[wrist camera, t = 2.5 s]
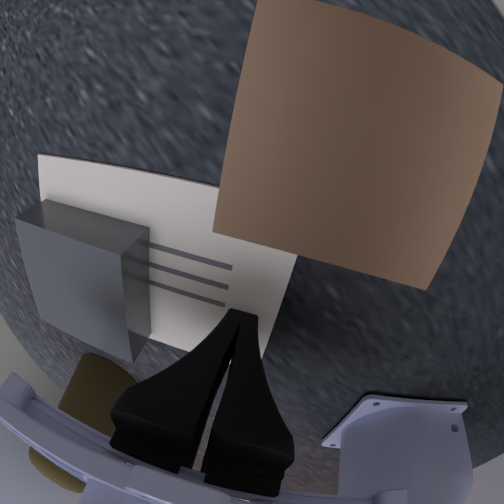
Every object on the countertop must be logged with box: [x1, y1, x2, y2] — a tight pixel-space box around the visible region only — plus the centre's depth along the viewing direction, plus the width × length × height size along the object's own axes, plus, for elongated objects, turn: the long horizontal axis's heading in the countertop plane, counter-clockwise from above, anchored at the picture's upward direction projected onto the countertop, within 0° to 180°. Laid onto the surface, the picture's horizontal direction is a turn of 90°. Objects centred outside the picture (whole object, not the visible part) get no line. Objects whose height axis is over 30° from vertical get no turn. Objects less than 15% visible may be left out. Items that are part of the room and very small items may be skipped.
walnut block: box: [212, 0, 503, 290], centre depth 7 cm, size 4×4×6 cm
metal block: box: [14, 199, 151, 364], centre depth 14 cm, size 7×7×2 cm
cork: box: [29, 354, 137, 493], centre depth 16 cm, size 6×6×11 cm
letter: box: [38, 154, 297, 364], centre depth 14 cm, size 14×10×1 cm
